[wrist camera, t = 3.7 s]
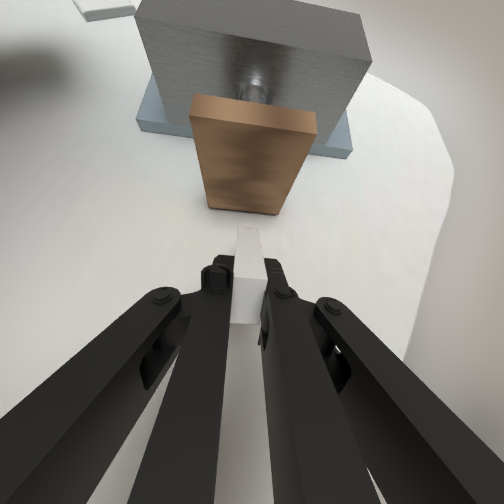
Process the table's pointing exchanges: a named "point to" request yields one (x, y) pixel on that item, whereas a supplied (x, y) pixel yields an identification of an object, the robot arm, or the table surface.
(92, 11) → the external hard drive
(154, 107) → the housing
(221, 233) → the table surface
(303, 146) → the brown wooden block
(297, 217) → the table surface
